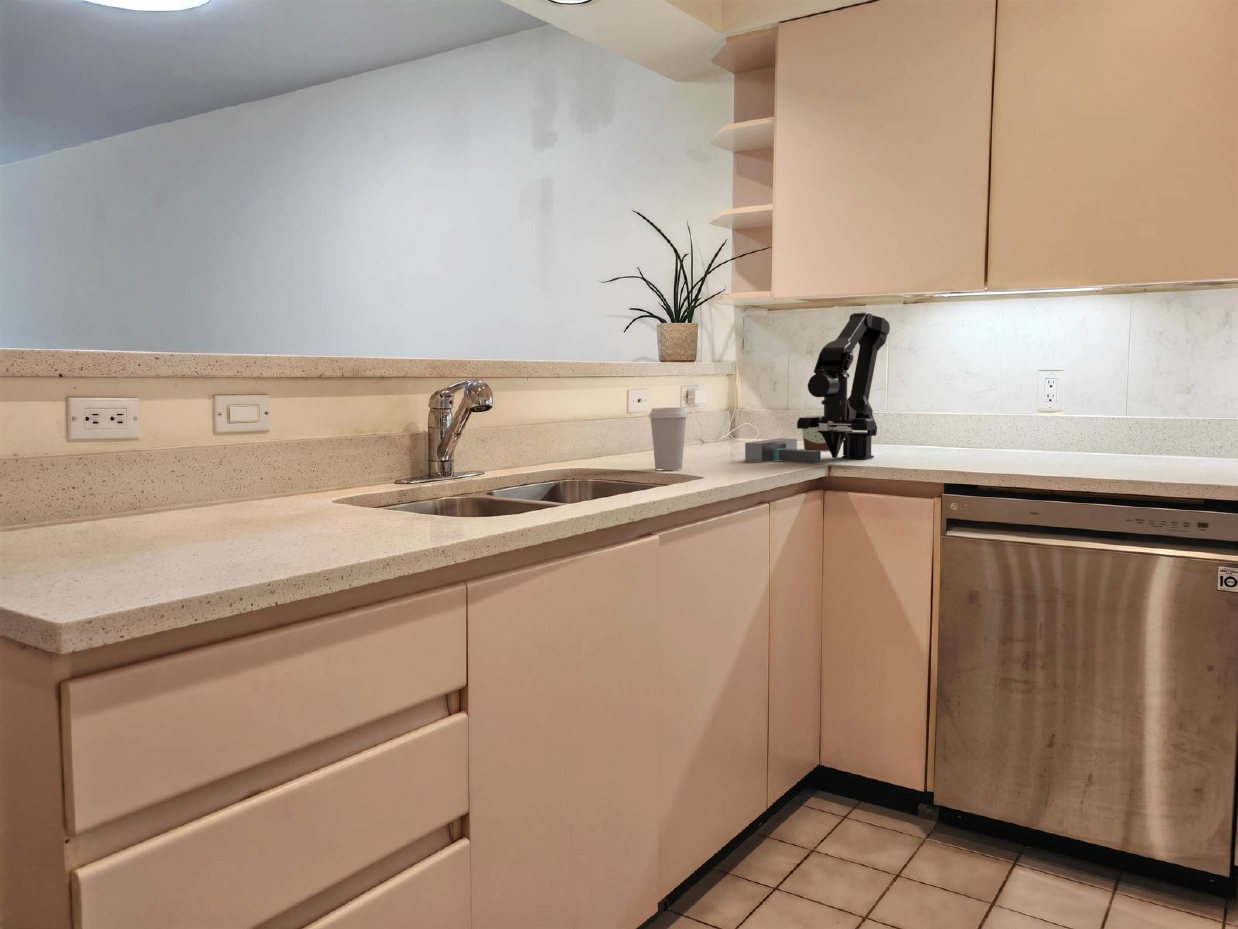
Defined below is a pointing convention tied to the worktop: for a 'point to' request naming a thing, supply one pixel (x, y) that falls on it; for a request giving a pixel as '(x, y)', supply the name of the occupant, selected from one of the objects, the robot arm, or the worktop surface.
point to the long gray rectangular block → (767, 449)
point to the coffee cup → (668, 437)
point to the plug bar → (797, 455)
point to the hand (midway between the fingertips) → (834, 457)
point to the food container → (814, 438)
